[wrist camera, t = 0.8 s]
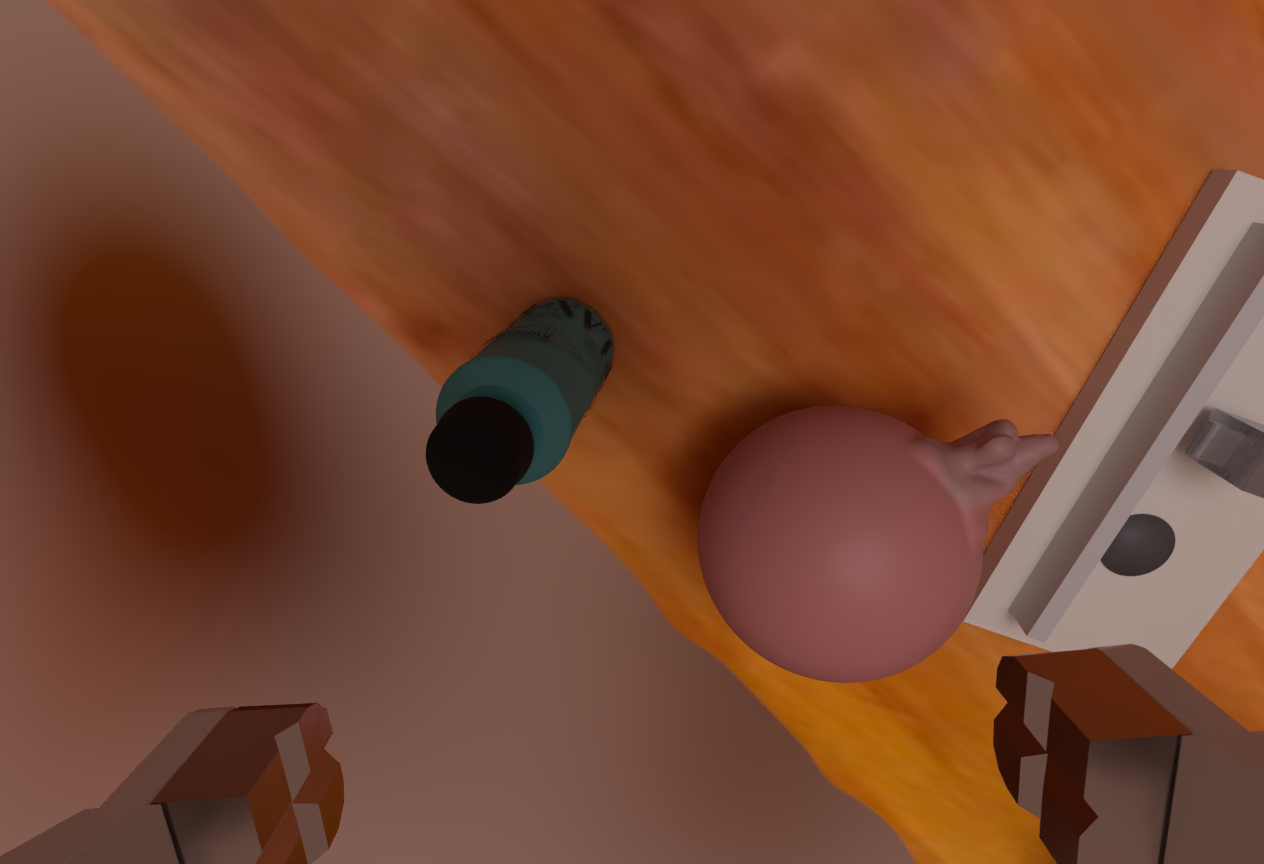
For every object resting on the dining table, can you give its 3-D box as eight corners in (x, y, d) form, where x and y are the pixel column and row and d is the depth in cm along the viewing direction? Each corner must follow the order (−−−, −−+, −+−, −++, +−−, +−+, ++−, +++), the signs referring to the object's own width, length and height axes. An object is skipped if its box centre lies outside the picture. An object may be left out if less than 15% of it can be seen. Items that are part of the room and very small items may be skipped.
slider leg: (1186, 397, 41) (1251, 430, 36) (1259, 422, 42) (1334, 459, 36) (1155, 443, 43) (1215, 481, 38) (1227, 467, 43) (1296, 509, 38)
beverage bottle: (635, 366, 47) (584, 504, 28) (545, 403, 48) (441, 558, 30) (592, 272, 45) (507, 355, 26) (500, 315, 47) (359, 421, 28)
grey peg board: (1212, 169, 40) (1310, 172, 33) (1451, 253, 40) (1594, 273, 33) (954, 604, 51) (989, 670, 44) (1141, 668, 51) (1204, 743, 44)
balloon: (1044, 489, 47) (1189, 635, 33) (771, 615, 53) (792, 787, 38) (939, 286, 43) (1051, 352, 29) (657, 446, 49) (633, 566, 34)
